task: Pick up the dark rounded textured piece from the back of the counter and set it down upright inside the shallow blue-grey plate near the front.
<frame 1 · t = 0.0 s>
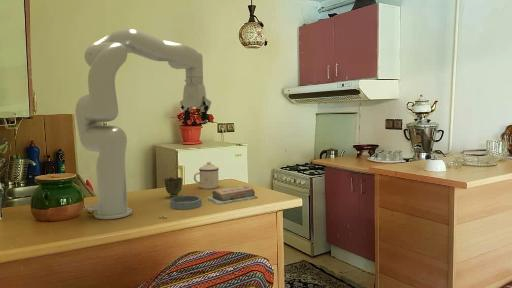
hand: (195, 120, 174), 31 cm above the counter, tool pointing down, fingers open, 9 cm apart
teacup with lid: (206, 187, 183), on the counter
packaged product: (232, 200, 161), on the counter
blue-grey plate: (185, 205, 152), on the counter
dark rounded textured piece: (174, 197, 165), on the counter
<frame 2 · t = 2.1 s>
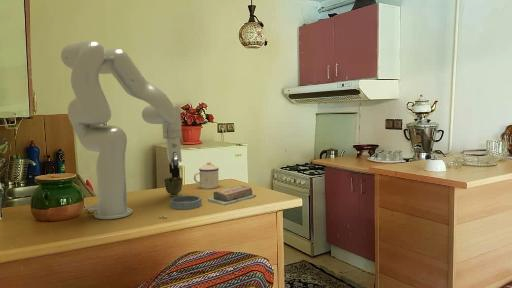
hand: (174, 175, 165), 9 cm above the counter, tool pointing down, fingers open, 9 cm apart
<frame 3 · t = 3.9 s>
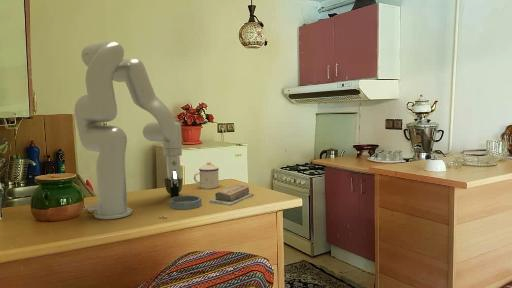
hand: (174, 194, 165), 1 cm above the counter, tool pointing down, fingers closed on dark rounded textured piece, 6 cm apart
dark rounded textured piece: (174, 197, 165), on the counter, touching gripper
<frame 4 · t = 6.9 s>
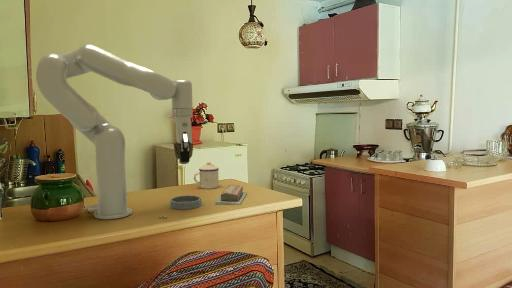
hand: (183, 160, 150), 18 cm above the counter, tool pointing down, fingers closed on dark rounded textured piece, 6 cm apart
dark rounded textured piece: (184, 164, 150), point 16 cm above the counter, touching gripper
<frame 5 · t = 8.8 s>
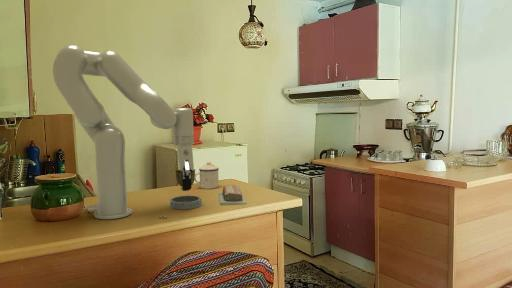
hand: (185, 186, 151), 7 cm above the counter, tool pointing down, fingers closed on dark rounded textured piece, 6 cm apart
dark rounded textured piece: (186, 190, 151), point 6 cm above the counter, touching gripper
when the fingers open (4 cm above the counter, at t = 10.4 s): dark rounded textured piece drops 2 cm, resting on blue-grey plate.
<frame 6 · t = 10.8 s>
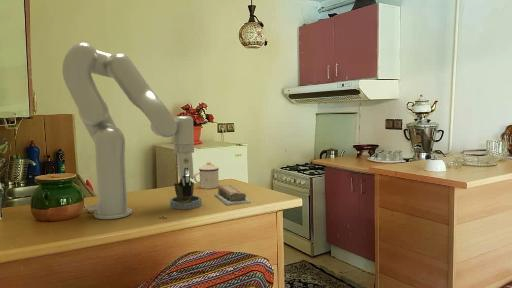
hand: (185, 193, 151), 5 cm above the counter, tool pointing down, fingers open, 9 cm apart
dark rounded textured piece: (185, 203, 152), point 1 cm above the counter, touching blue-grey plate
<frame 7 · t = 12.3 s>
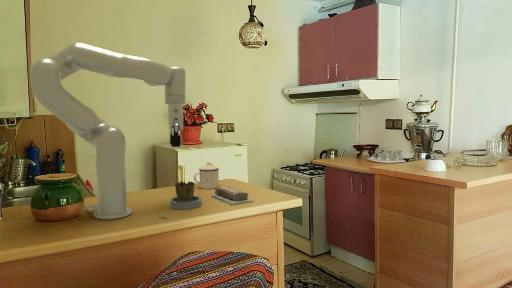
hand: (174, 145, 150), 23 cm above the counter, tool pointing down, fingers open, 9 cm apart
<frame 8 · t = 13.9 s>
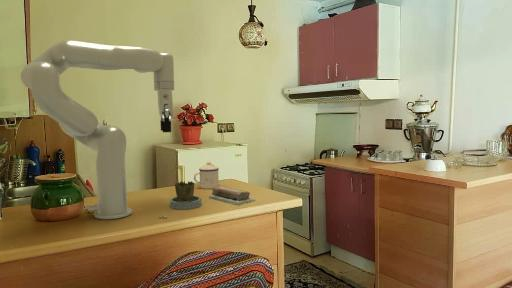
hand: (165, 131, 153), 28 cm above the counter, tool pointing down, fingers open, 9 cm apart
at the end: dark rounded textured piece 0.1 cm off-centre on the blue-grey plate, point 0.6 cm above the blue-grey plate's base; dark rounded textured piece tilted 0°; the gripper is holding nothing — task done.
